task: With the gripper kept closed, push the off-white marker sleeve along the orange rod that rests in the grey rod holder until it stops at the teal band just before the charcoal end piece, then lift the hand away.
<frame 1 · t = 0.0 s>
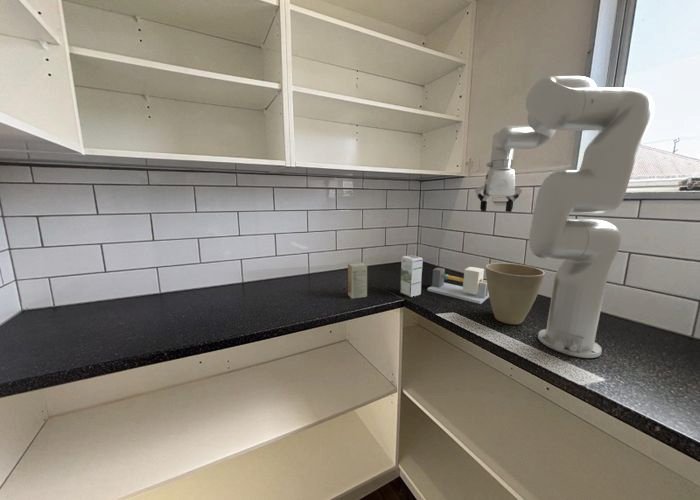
hand: (495, 211, 108), 31 cm above the countertop, tool pointing down, fingers open, 9 cm apart
skincare box: (357, 296, 102), on the countertop
plant pot: (507, 319, 84), on the countertop
grey rod holder: (458, 293, 106), on the countertop
marker sleeve: (473, 280, 102), point 6 cm above the countertop, slide at 0.0 cm
syrup box: (410, 294, 105), on the countertop
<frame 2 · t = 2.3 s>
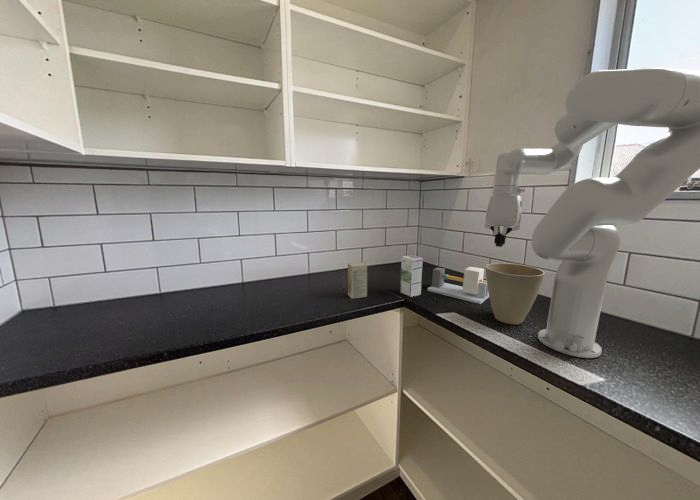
hand: (499, 246, 95), 20 cm above the countertop, tool pointing down, fingers closed
nothing on the countertop moved.
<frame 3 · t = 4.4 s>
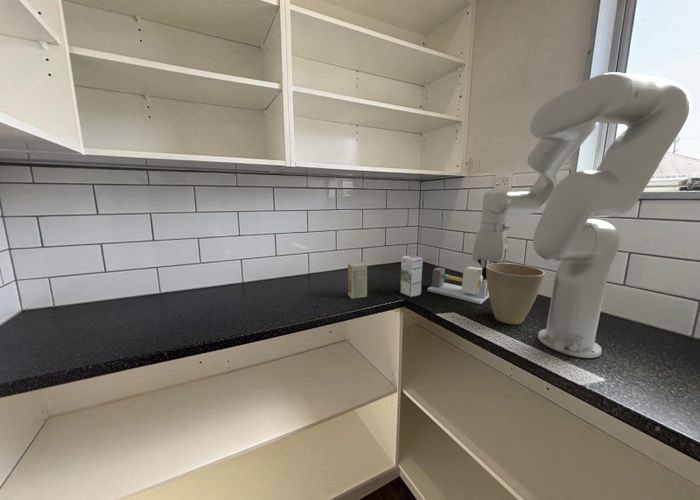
hand: (486, 278, 99), 8 cm above the countertop, tool pointing down, fingers closed
marker sleeve: (472, 280, 102), point 6 cm above the countertop, slide at 0.3 cm, touching gripper
everything else where it was.
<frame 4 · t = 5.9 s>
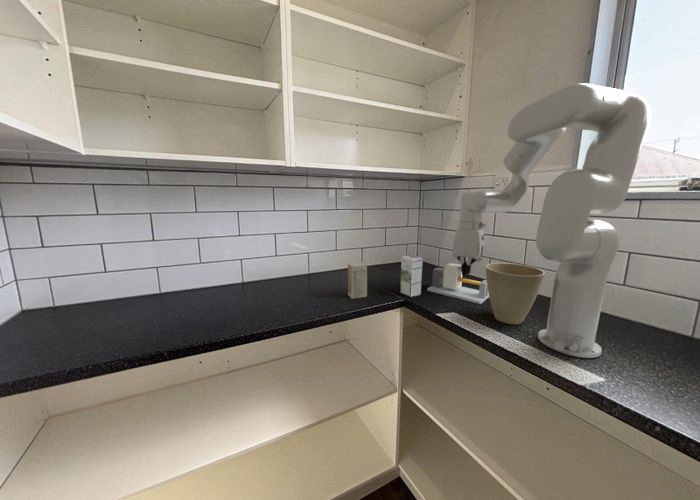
hand: (465, 274, 104), 8 cm above the countertop, tool pointing down, fingers closed
marker sleeve: (453, 276, 107), point 6 cm above the countertop, slide at 7.6 cm, touching gripper
everything else where it was.
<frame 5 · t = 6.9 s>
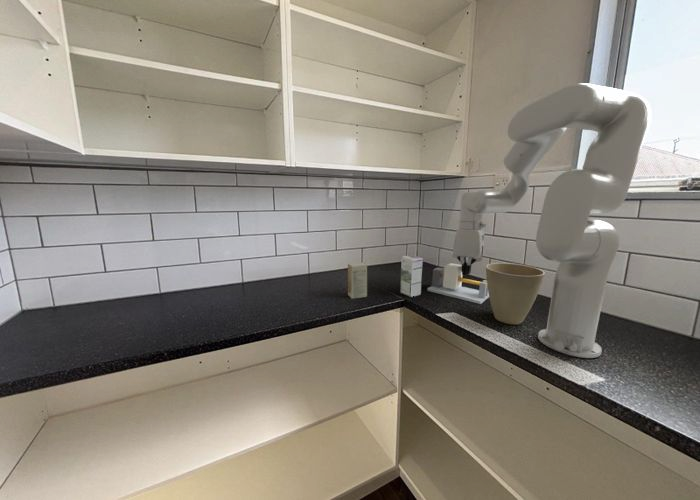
hand: (465, 274, 104), 8 cm above the countertop, tool pointing down, fingers closed
nothing on the countertop moved.
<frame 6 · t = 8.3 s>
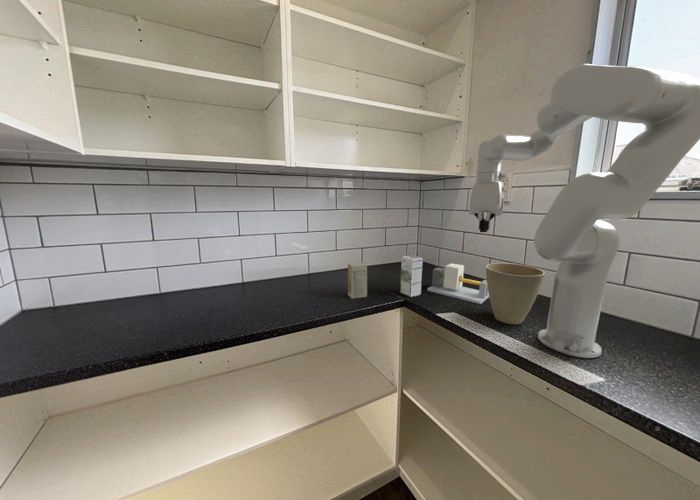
hand: (483, 231, 97), 24 cm above the countertop, tool pointing down, fingers closed
marker sleeve: (453, 276, 107), point 6 cm above the countertop, slide at 7.3 cm
everything else where it was.
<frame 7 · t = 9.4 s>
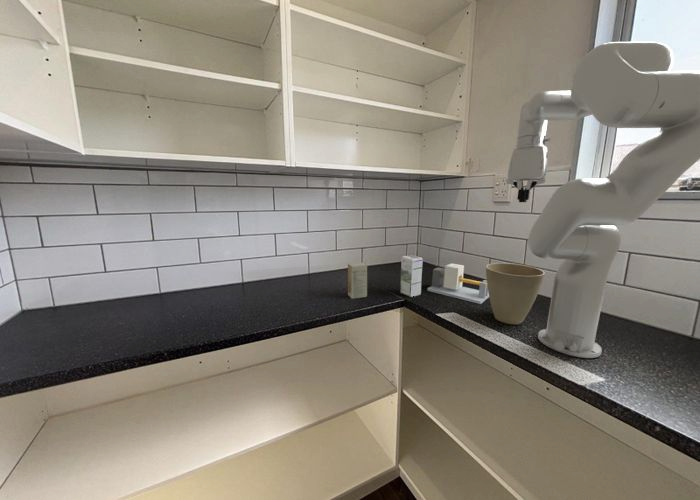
hand: (522, 202, 91), 35 cm above the countertop, tool pointing down, fingers closed
nothing on the countertop moved.
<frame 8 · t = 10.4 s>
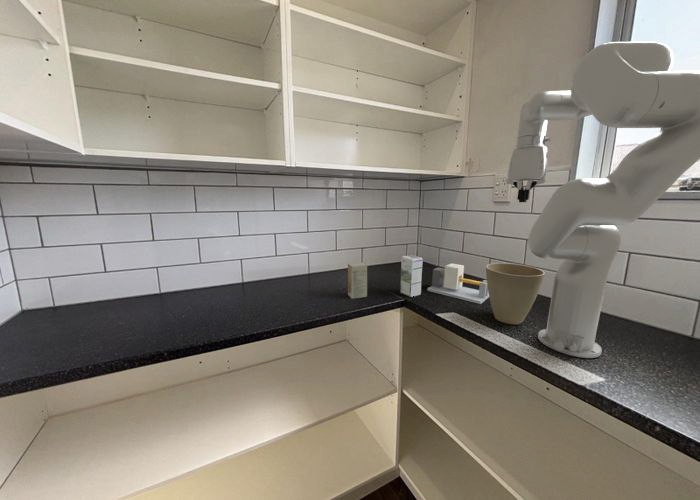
hand: (522, 202, 91), 35 cm above the countertop, tool pointing down, fingers closed
nothing on the countertop moved.
at the end: marker sleeve slide at 7.3 cm; the gripper is holding nothing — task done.
